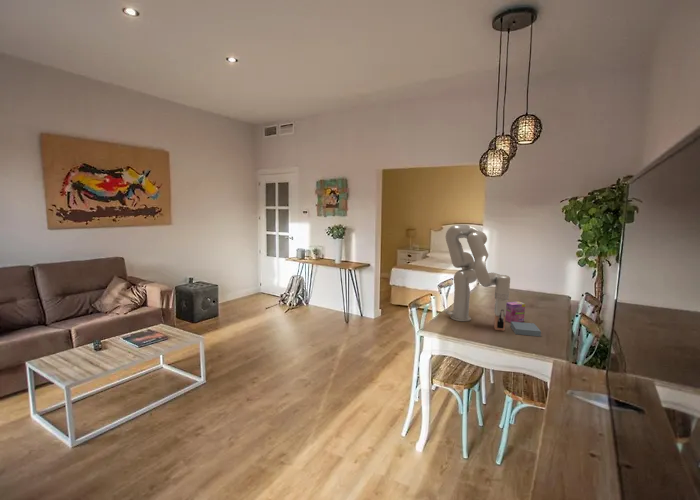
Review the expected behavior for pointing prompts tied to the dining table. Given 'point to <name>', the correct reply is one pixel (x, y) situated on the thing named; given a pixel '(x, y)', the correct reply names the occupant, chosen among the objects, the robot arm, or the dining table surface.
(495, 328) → the block
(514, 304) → the box
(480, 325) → the dining table surface
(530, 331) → the base
